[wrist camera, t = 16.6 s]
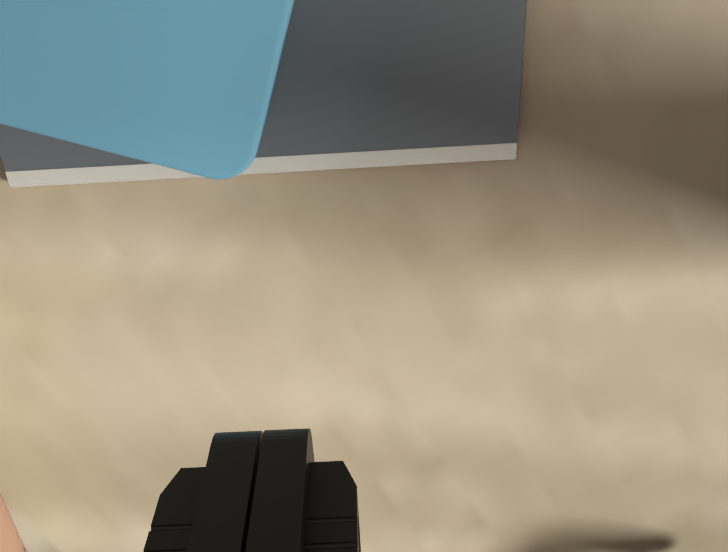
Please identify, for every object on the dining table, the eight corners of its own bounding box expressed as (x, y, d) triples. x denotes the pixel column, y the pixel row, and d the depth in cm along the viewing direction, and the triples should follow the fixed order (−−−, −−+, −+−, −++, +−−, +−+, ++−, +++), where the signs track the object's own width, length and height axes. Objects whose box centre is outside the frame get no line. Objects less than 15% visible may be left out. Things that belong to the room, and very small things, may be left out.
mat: (532, -135, 27) (536, -135, 27) (513, 154, 34) (516, 159, 33) (-78, -101, 27) (-87, -100, 27) (15, 182, 33) (10, 187, 33)
